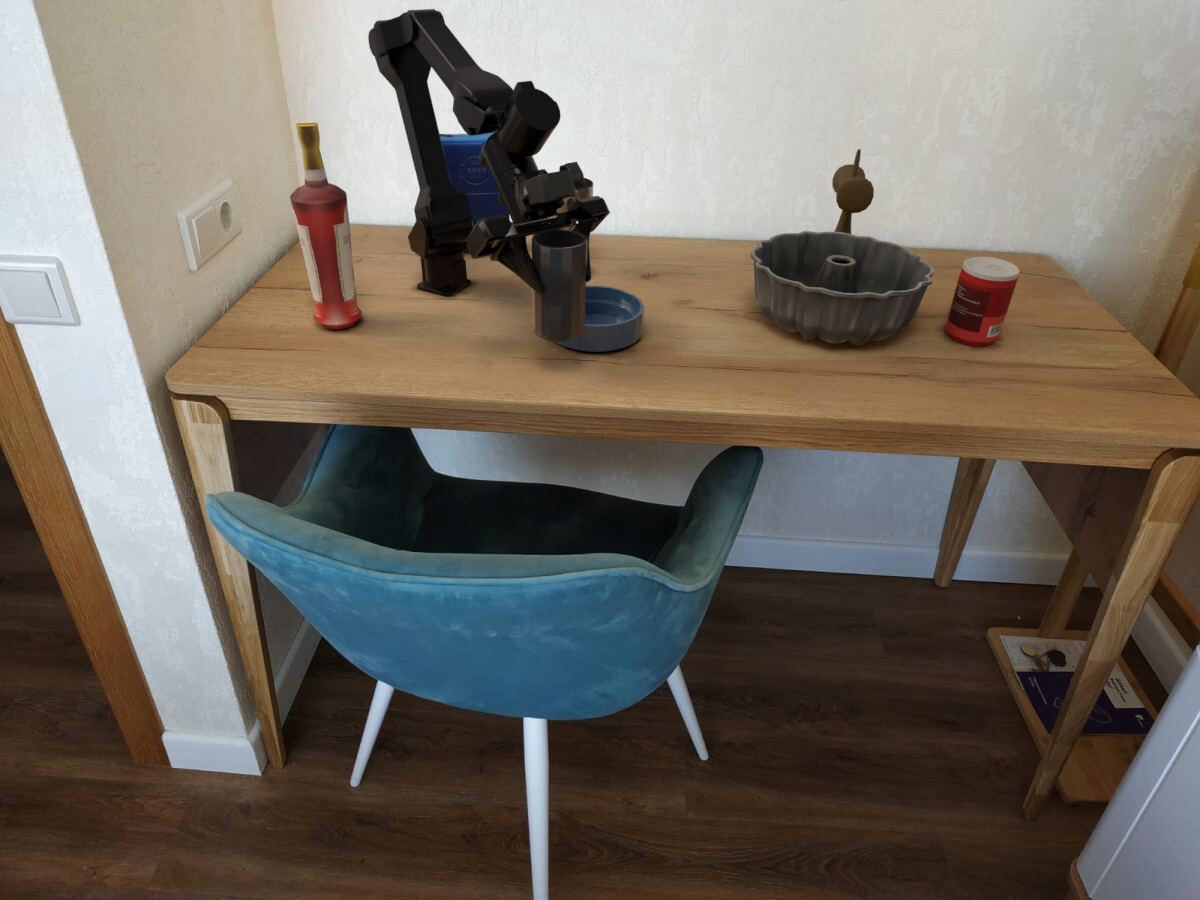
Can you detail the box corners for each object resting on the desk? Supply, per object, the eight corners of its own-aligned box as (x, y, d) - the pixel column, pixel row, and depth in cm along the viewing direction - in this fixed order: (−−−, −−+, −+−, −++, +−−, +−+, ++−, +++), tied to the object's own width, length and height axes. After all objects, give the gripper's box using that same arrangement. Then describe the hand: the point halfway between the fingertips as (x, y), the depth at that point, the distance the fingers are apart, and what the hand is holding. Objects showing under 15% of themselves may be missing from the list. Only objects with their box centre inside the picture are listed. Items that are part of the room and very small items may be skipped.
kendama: (822, 273, 144) (844, 155, 133) (816, 253, 152) (837, 140, 140) (857, 276, 143) (882, 157, 132) (850, 256, 151) (873, 142, 140)
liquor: (315, 313, 125) (280, 118, 109) (365, 310, 126) (337, 117, 110) (311, 335, 119) (273, 131, 103) (364, 331, 120) (334, 130, 105)
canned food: (996, 329, 127) (1018, 260, 121) (998, 351, 121) (1022, 280, 115) (943, 320, 129) (962, 253, 123) (943, 342, 123) (963, 272, 116)
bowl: (528, 340, 119) (528, 311, 117) (576, 305, 130) (576, 278, 127) (615, 364, 114) (616, 334, 112) (657, 326, 125) (659, 298, 122)
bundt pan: (748, 279, 141) (755, 221, 135) (908, 296, 137) (923, 237, 131) (737, 348, 119) (746, 283, 114) (927, 371, 115) (946, 304, 109)
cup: (523, 333, 108) (521, 241, 101) (550, 314, 113) (549, 225, 106) (568, 346, 106) (569, 252, 99) (594, 326, 111) (596, 235, 104)
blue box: (431, 256, 145) (420, 138, 134) (430, 245, 150) (419, 130, 138) (512, 252, 148) (509, 136, 137) (509, 242, 152) (505, 128, 141)
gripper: (472, 150, 94) (525, 274, 93) (603, 131, 104) (653, 243, 103) (444, 200, 104) (493, 313, 103) (567, 178, 113) (613, 281, 112)
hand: (565, 286), depth 105 cm, fingers closed on cup, 7 cm apart
